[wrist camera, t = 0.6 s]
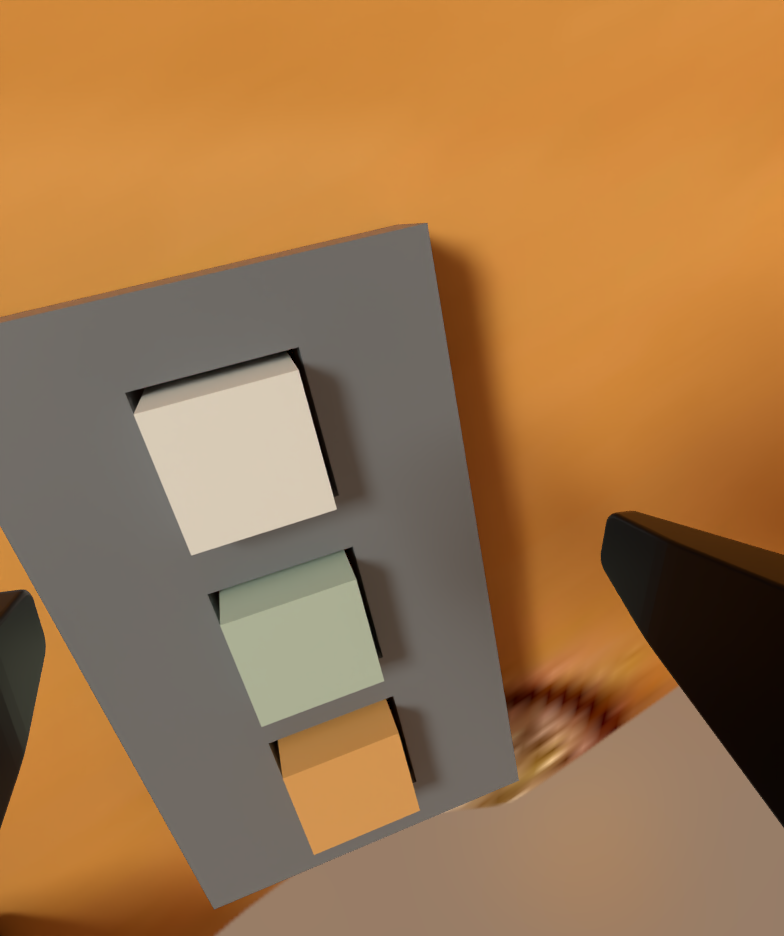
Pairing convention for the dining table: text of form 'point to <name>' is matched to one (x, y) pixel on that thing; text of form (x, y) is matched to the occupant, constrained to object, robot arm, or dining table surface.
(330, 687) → the sage button
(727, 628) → the robot arm
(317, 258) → the panel
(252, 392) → the off white button
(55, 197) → the dining table surface
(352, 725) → the orange button
